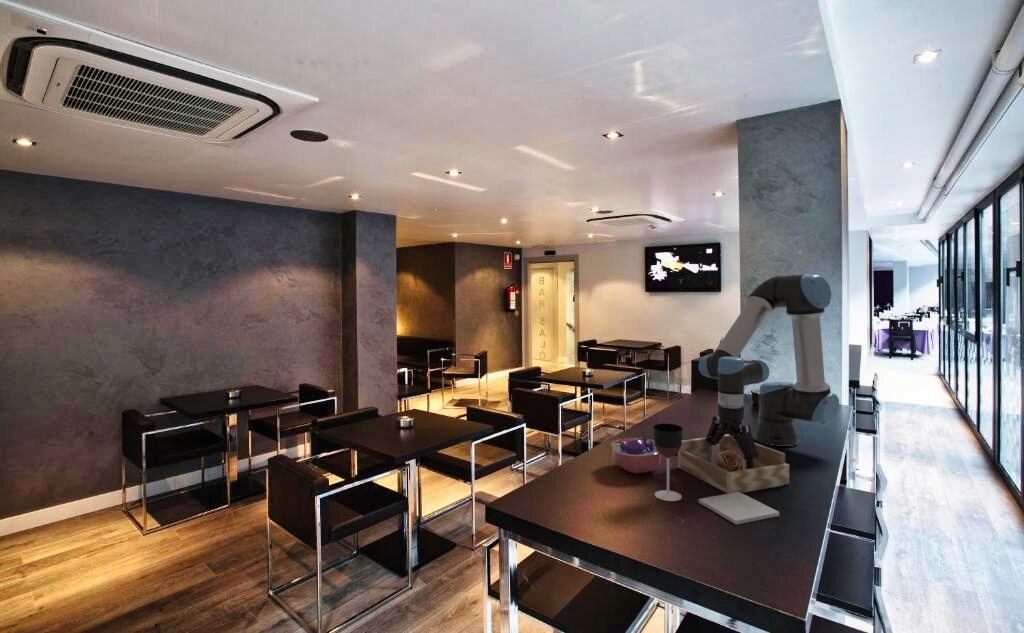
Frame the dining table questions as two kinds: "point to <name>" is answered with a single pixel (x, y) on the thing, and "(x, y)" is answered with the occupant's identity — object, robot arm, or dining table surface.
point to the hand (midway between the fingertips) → (730, 471)
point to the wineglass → (668, 452)
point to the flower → (730, 460)
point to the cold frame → (763, 475)
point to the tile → (738, 508)
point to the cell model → (636, 454)
